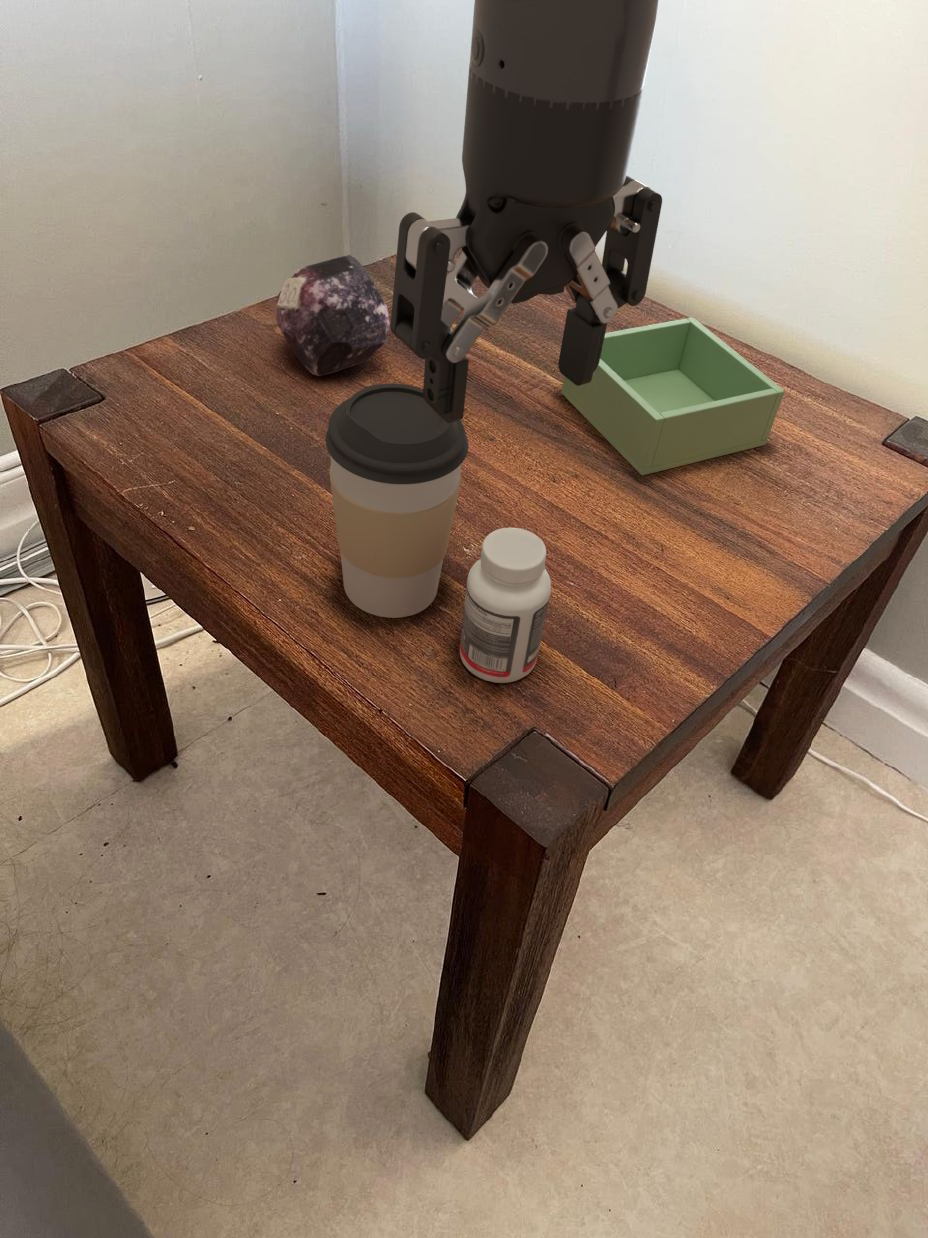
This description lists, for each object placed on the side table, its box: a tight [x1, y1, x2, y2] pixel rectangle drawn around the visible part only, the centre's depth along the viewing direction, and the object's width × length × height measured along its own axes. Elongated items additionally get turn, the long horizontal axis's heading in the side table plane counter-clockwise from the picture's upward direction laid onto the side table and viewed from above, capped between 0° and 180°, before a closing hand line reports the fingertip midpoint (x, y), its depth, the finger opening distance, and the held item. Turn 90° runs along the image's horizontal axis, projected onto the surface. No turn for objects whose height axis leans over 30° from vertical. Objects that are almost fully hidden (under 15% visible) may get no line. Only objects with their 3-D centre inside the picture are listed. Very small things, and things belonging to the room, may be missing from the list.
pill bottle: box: [459, 527, 552, 684], centre depth 63 cm, size 5×5×10 cm
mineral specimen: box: [275, 254, 391, 377], centre depth 88 cm, size 10×10×10 cm
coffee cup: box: [324, 383, 469, 619], centre depth 65 cm, size 9×9×15 cm
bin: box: [560, 316, 786, 476], centre depth 87 cm, size 14×14×6 cm
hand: (512, 395), depth 53 cm, fingers open, 8 cm apart
